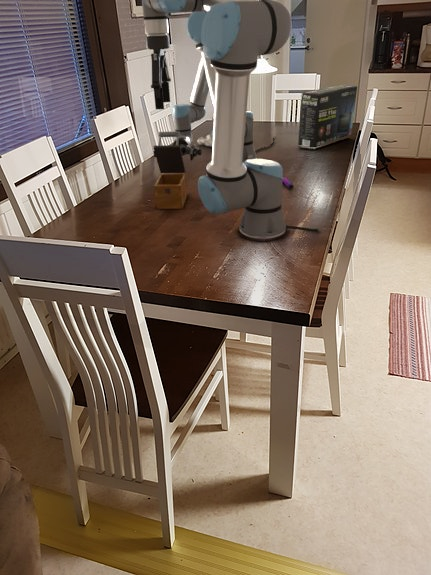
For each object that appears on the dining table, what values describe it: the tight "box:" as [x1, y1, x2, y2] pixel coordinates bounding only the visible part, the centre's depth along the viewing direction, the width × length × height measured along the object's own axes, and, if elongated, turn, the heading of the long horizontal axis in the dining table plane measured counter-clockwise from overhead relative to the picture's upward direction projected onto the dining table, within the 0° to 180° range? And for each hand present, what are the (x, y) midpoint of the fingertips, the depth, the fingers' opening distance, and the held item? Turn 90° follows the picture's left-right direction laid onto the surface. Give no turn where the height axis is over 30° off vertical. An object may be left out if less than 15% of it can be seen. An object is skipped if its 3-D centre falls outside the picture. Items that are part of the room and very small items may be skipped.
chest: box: [153, 172, 188, 210], centre depth 174 cm, size 14×10×9 cm
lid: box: [153, 130, 186, 174], centre depth 172 cm, size 15×10×9 cm
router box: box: [297, 84, 358, 151], centre depth 238 cm, size 36×11×27 cm, turn 134°
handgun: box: [282, 176, 294, 190], centre depth 191 cm, size 21×8×2 cm, turn 11°
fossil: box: [196, 130, 213, 147], centre depth 250 cm, size 18×11×15 cm
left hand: (174, 158), depth 187 cm, fingers open, 13 cm apart
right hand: (163, 105), depth 157 cm, fingers open, 13 cm apart
